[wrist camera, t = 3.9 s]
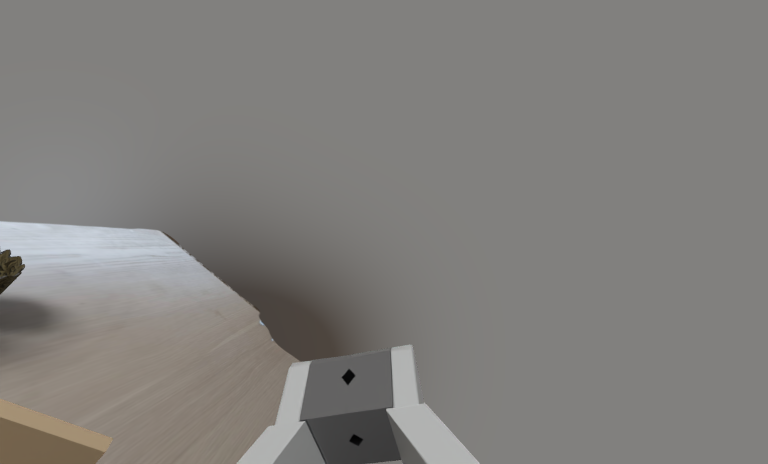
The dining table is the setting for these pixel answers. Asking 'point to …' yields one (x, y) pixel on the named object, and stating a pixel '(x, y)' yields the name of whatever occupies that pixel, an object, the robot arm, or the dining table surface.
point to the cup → (9, 269)
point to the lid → (45, 439)
